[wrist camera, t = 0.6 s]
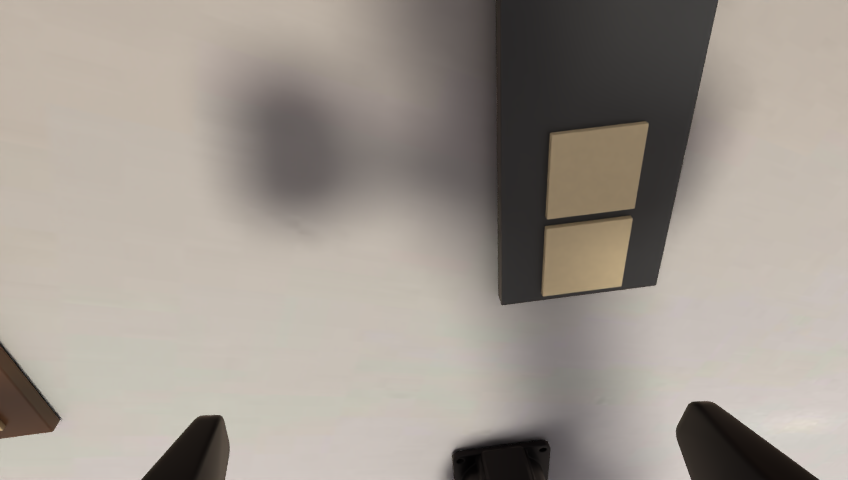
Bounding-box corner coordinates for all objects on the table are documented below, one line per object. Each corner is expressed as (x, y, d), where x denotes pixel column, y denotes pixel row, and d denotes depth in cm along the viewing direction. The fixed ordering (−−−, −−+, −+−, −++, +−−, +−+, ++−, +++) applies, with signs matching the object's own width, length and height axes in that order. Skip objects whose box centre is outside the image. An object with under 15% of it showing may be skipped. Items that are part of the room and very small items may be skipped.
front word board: (648, 276, 26) (659, 289, 25) (498, 295, 26) (503, 309, 25) (723, -90, 17) (744, -90, 16) (494, -64, 17) (502, -63, 16)
